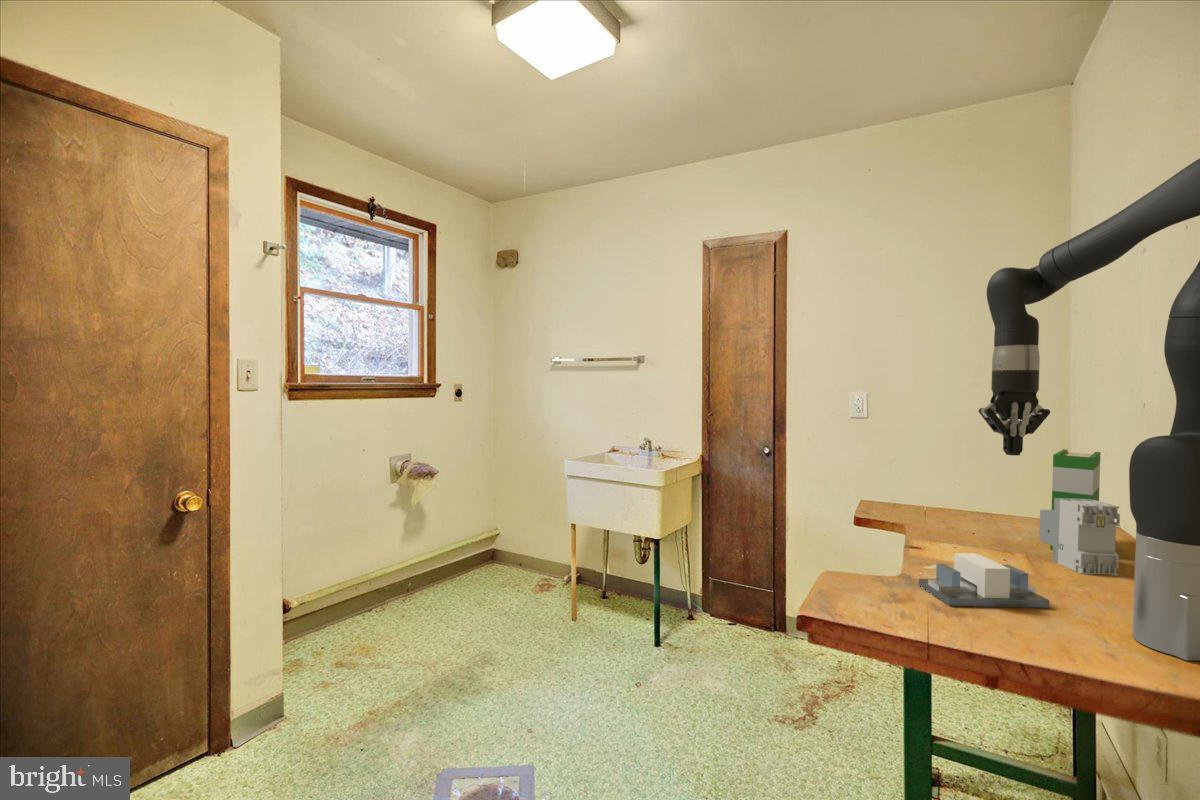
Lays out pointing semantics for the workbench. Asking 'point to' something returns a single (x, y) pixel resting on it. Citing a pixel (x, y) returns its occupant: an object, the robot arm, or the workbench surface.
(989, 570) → the block
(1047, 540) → the circuit breaker
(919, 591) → the workbench surface
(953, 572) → the rail mount
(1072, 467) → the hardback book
